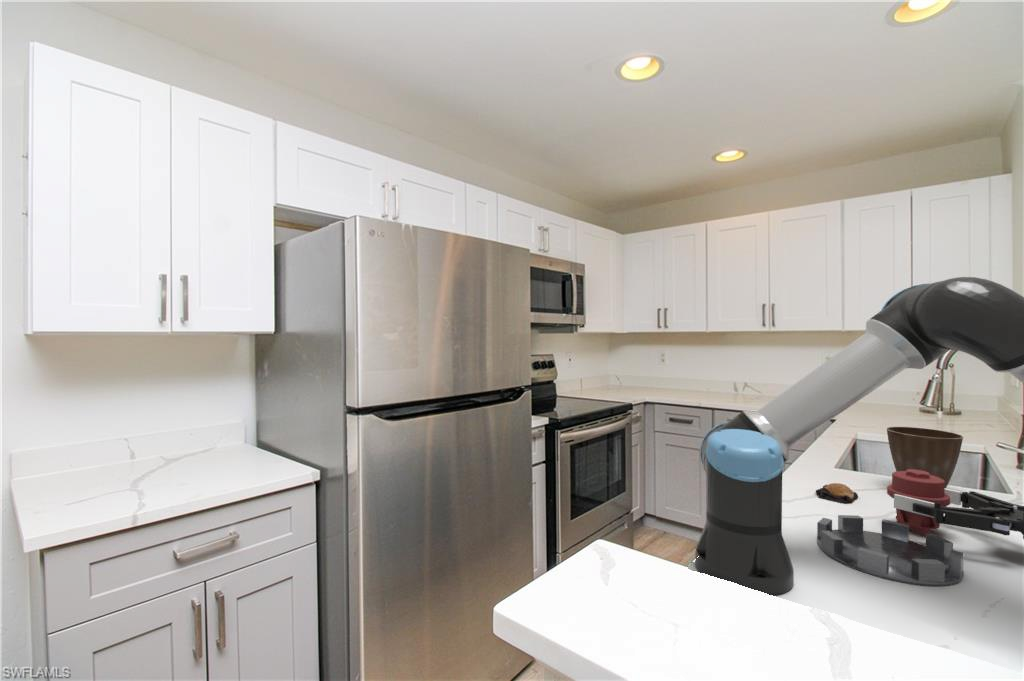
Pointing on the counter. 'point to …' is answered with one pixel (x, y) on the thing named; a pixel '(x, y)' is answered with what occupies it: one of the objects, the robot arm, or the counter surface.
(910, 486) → the mechanical component
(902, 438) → the plant pot
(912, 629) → the counter surface
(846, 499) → the bread roll
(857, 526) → the castellated collar
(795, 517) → the counter surface
